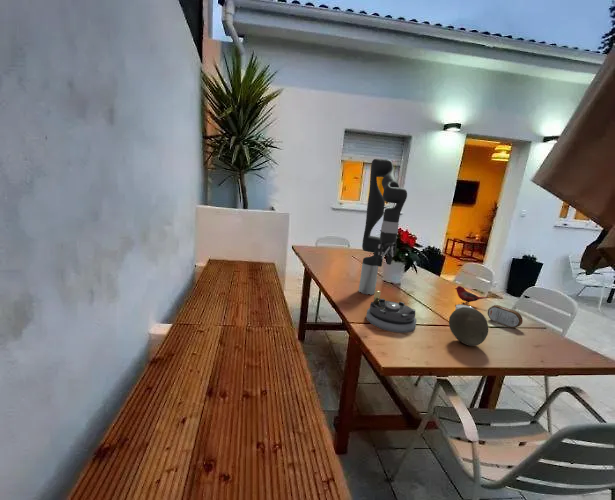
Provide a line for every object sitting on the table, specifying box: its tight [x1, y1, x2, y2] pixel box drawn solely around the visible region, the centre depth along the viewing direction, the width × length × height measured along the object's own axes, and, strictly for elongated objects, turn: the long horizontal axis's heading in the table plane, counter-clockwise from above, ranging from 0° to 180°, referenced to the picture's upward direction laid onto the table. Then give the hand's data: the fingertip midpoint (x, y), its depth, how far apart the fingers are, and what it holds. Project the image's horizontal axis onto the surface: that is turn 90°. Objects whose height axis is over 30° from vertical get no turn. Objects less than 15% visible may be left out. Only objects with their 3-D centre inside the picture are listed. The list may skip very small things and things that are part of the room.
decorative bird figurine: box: [454, 285, 489, 305], centre depth 176 cm, size 3×18×10 cm, turn 71°
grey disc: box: [369, 289, 416, 324], centre depth 140 cm, size 20×20×9 cm
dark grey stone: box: [448, 307, 489, 347], centre depth 125 cm, size 14×14×15 cm
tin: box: [487, 304, 524, 329], centre depth 152 cm, size 15×3×8 cm, turn 36°
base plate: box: [365, 307, 417, 333], centre depth 141 cm, size 22×22×3 cm
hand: (384, 265), depth 145 cm, fingers open, 8 cm apart
